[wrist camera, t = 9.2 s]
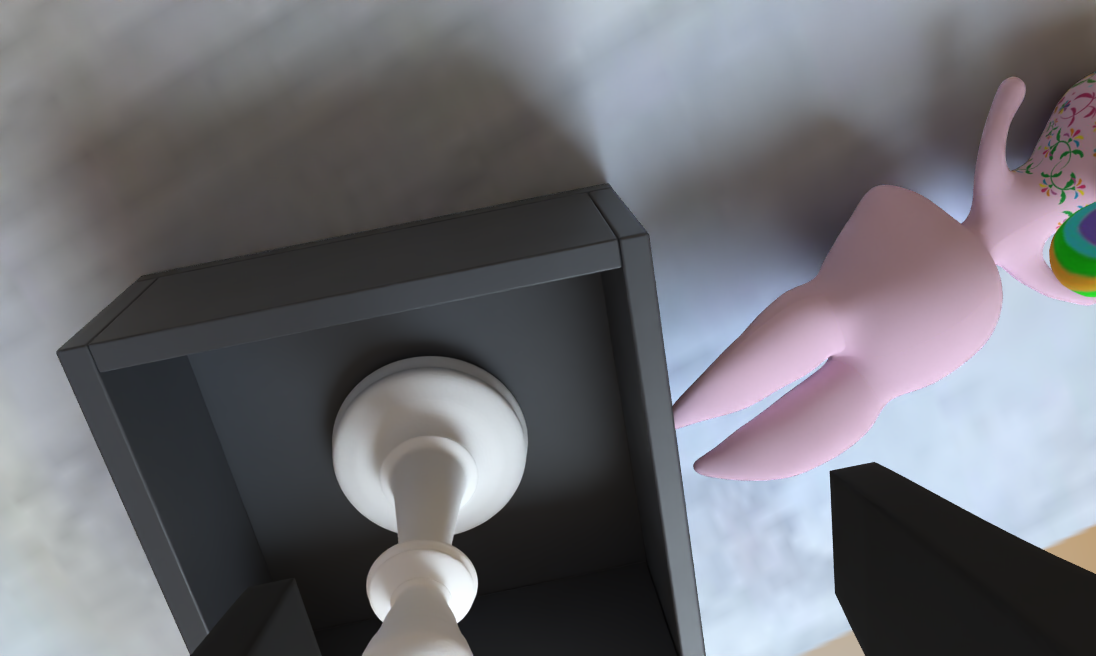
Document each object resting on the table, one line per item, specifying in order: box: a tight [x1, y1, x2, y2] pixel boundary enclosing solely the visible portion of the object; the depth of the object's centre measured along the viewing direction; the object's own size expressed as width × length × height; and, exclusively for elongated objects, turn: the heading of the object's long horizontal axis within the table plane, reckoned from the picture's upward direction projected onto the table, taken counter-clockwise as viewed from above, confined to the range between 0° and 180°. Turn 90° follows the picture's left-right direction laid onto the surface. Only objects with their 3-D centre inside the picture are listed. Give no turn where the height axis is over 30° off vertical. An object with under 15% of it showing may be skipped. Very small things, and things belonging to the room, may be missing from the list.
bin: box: [57, 184, 706, 656], centre depth 20 cm, size 11×11×4 cm
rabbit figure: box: [672, 72, 1096, 481], centre depth 18 cm, size 6×6×15 cm
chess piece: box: [332, 356, 528, 656], centre depth 17 cm, size 5×5×10 cm
